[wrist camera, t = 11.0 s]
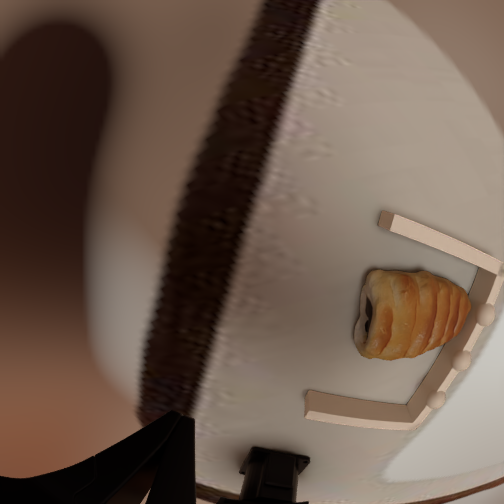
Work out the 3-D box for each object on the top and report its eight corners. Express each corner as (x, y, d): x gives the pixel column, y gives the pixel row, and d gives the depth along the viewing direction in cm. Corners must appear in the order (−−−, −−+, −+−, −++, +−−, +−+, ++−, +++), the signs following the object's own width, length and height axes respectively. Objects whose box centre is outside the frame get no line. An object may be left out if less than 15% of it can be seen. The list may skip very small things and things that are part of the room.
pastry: (467, 265, 16) (493, 281, 12) (448, 341, 17) (467, 366, 14) (359, 264, 17) (373, 283, 14) (348, 349, 19) (356, 380, 15)
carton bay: (411, 413, 19) (420, 437, 16) (304, 397, 20) (304, 426, 17) (493, 258, 15) (517, 269, 12) (382, 210, 16) (400, 215, 13)
